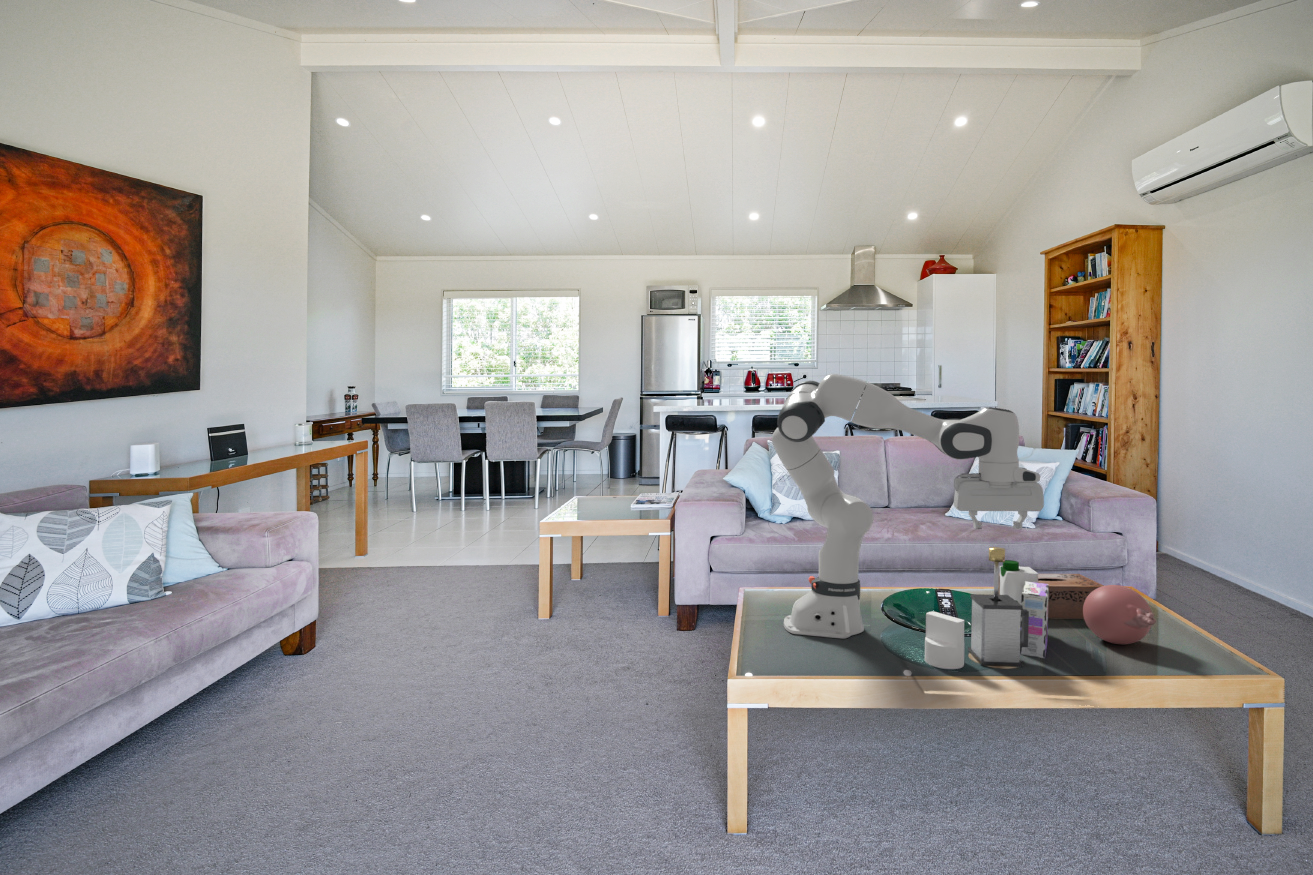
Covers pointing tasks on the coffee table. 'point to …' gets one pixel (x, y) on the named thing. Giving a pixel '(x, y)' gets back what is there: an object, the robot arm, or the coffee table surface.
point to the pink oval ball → (1117, 614)
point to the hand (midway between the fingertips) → (997, 528)
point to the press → (998, 630)
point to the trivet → (989, 666)
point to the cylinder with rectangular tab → (944, 641)
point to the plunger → (996, 565)
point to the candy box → (1035, 618)
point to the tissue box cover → (1066, 594)
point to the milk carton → (1015, 579)
